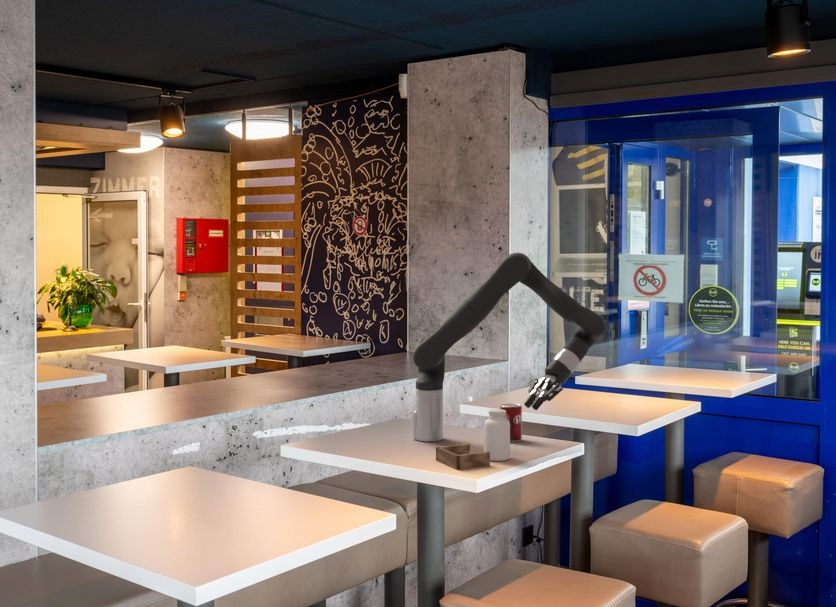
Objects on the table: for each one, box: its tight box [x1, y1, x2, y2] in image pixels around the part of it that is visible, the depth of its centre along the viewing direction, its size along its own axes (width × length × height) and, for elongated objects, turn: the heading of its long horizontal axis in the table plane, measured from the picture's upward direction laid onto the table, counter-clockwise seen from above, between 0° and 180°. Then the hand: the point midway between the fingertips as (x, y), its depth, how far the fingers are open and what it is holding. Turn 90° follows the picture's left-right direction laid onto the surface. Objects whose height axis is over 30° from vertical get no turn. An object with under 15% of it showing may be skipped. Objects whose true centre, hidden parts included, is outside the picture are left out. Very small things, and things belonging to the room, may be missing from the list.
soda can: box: [499, 403, 523, 443], centre depth 306 cm, size 7×7×12 cm
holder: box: [435, 443, 491, 471], centre depth 275 cm, size 11×13×4 cm
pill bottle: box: [483, 408, 511, 462], centre depth 280 cm, size 8×8×15 cm
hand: (530, 407), depth 284 cm, fingers open, 3 cm apart
